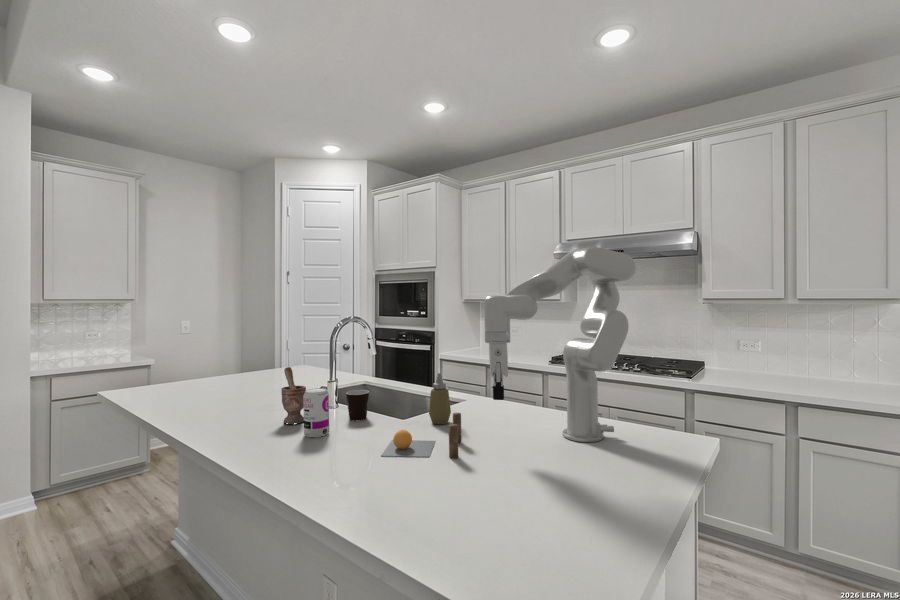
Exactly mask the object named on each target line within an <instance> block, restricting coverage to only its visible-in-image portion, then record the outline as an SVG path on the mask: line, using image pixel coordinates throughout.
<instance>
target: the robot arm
mask: <svg viewBox="0 0 900 600" xmlns="http://www.w3.org/2000/svg"><path fill="white" fill-rule="evenodd" d="M636 265H637V264H636V262H635V260H634V259H633V258H632V257H631V256H630V255H629V254H626V253H623V252H619V251H615V250H611V249H606V248H603V247H597V246H588V247H583V248H576V249H573V250H571V251H569V252H568V253H567V254H565V255H564V256H562V257H561V258H559V260H557V261H556V262H554V263H553V264H551V265H550V266H549V267H547V268H546V269H545V270H543V271H541V272H540V273H538V274H536V275H534V276H533V277H531V278H529V279H527V280H525V281H523V282H522V283H520V284H518V285H516V286H515V287H514V288H512V289H511V290H510V291H508V292H506V294H504V295H489V296H486V297H485V298H484V303H483V304H484V305H483V306H484V310H483V311H484V313H483V314H484V315H483V316H484V343H485V344H488V353H489V354H488V356H489V358H488V360H489V368H490V369H489V370H490V375H491V377H492V378H493V385H492V400H493V401H503V400H504V399H505V386H504V377H505V378H508V376H509V369H508V368H509V364H508V363H509V361H508V360H509V359H508V356H509V355H508V344H509V343H511V320H520V321H521V320H523V321H526V320H529V319H532V318H533V317H534V316H535V315H536V314H537V312H538V302H537V301H540V300H543V299H545V298H551V297H554V296H556V295H559V294H561V293H562V292H563V291H565V290H566V289H568V288H569V287H570V286H571V285H572V284H573V283H575V282H576V281H577V280H579V279H580V278H582V277H583V276H587V275H588V276H589V279H590V280H591V283H592V284H591V285H592V287H593V294H592V297H591V299H590V302H589V303H588V306H587V308H586V310H585V312H584V315H582V316H583V317H582V319H581V322H580V326H579V327H580V328H579V329H580V332H582V334H583V335H584V336H586V337H588V338H581V337H576V338H572V339H570V340H568V341H567V342H566V343H565V345H564V347H563V351H562V355H563V356H562V357H563V364H564V365H565V375H566V412H567V413H566V415H567V416H566V418H567V419H566V423H567V426H566V428H564V429H563V430H562V436H563V438H565V439H567V440H570V441H573V442H580V443H594V442H600V441H602V440H603V439H604V433H606V432H607V433H614V432H615V429H614V428H615V426H613V425H608V424H601V423H600V422H599V405H598V404H599V403H598V402H599V401H598V400H599V399H598V396H599V395H598V390H599V389H598V387H599V386H598V385H599V384H598V378H597V374H596V372H599V373H601V372H602V373H603V372H607V371H608V370H610V369H611V368H612V367H613V365H615V363H616V361H617V358H618V357H619V353H620V351H621V349H622V348H623V345H624V344H625V341H626V339H627V336H628V333H629V320H628V317H627V316H626V314H625V313H624V312H622V311H620V310H618V307H619V303H620V300H621V299H620V293H619V290H618V287H617V284H616V282H617V283H618V282H625V281H628V280H630V279H632V277H633V276H634V275H635V273H636V271H637V266H636ZM591 338H592V339H591Z"/></svg>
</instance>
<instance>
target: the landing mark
mask: <svg viewBox="0 0 900 600" xmlns="http://www.w3.org/2000/svg"><path fill="white" fill-rule="evenodd" d="M435 444H436V440H421V439H420V440H419V439H418V440H415V439H414V440H413V439H412V442H411V445H410V446H409V447H408V448H406V449H399V448H397V447H396V446H395V445H394V442H393V439H392V440H391V441H390V442H389V443H388V445H387V447H386V448H385V449H384V451H383V452H382V453H381V455H380V457H385V456H392V458H393V456H394V457H395V458H398V457H399V458H400V457H401V458H403V457H404V458H411V457H412V458H430V456H431V453H432V450H433V449H434V446H435Z"/></svg>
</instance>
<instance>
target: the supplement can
mask: <svg viewBox="0 0 900 600" xmlns="http://www.w3.org/2000/svg"><path fill="white" fill-rule="evenodd" d="M329 396H330V394H329V392H328V390H327V388H323V387H321V388H320V387H319V388H310V389H306V391H305V394H304V396H303V409H302V410H303V417H304V422H303V435H304V436H305V437H306V436H307V437H306V438H308V437H319V438H321V437H320V436H323V437H325V436H324V435H326V434H327V435H329V433H330V397H329ZM327 435H326V436H327Z"/></svg>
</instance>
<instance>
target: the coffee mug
mask: <svg viewBox="0 0 900 600" xmlns="http://www.w3.org/2000/svg"><path fill="white" fill-rule="evenodd" d="M345 395H346V404H347V409H348V418H349V421H352V420H354V421H353V422H357V421H356V420H360V421H364V420H366V419H367V416H368V406H369V397H370V391H369V390H366V389H356V390H349V391H347V392H346V393H345ZM363 419H364V420H363Z"/></svg>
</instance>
